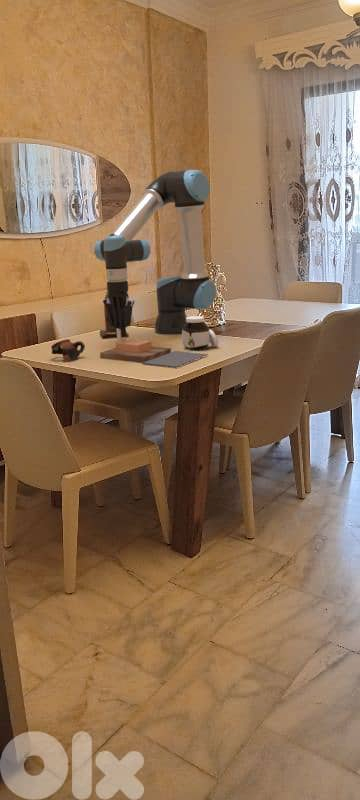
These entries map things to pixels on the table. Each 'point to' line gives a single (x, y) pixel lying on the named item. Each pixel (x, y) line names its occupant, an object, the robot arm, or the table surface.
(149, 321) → the table surface
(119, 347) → the terracotta tile
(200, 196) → the robot arm
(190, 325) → the spread jar
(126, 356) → the walnut riser
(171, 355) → the charcoal mat
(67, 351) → the pottery mug
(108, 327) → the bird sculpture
